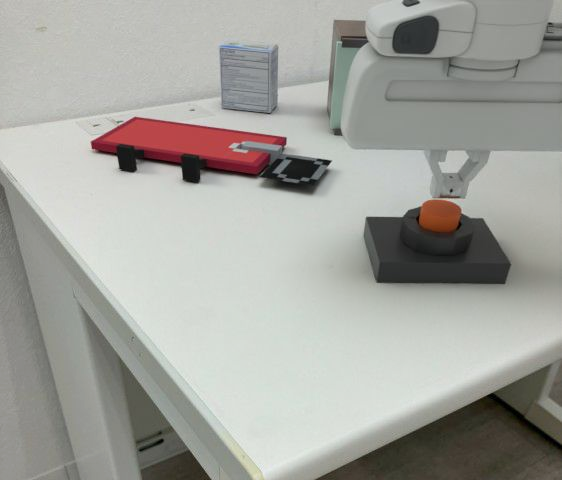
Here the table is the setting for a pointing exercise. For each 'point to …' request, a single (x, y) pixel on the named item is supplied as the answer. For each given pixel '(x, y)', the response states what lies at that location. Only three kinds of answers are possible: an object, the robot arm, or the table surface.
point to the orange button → (439, 215)
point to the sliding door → (340, 81)
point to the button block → (434, 251)
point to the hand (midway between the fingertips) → (446, 196)
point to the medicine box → (249, 75)
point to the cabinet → (350, 37)
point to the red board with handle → (207, 150)
